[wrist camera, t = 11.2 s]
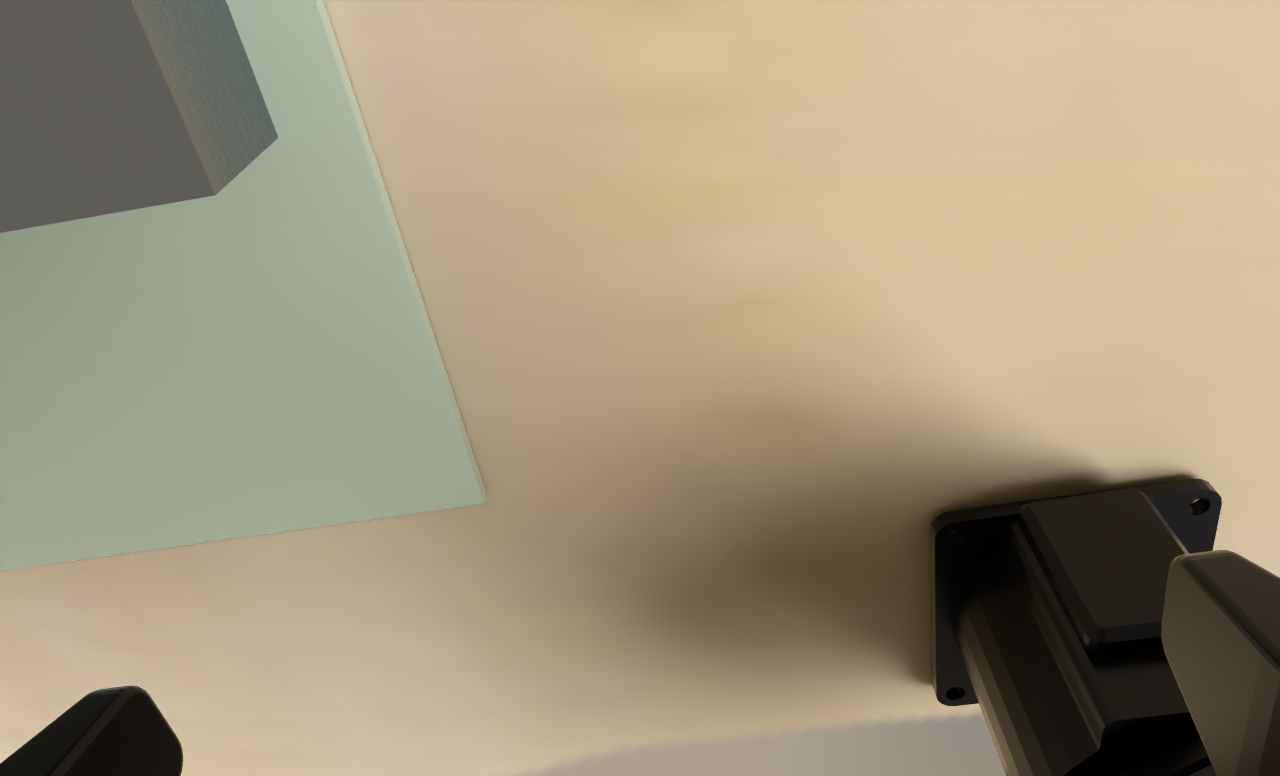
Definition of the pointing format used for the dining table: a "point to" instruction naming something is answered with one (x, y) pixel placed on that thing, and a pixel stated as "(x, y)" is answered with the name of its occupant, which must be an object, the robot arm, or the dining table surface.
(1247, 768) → the robot arm
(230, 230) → the mat
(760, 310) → the dining table surface
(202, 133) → the block
